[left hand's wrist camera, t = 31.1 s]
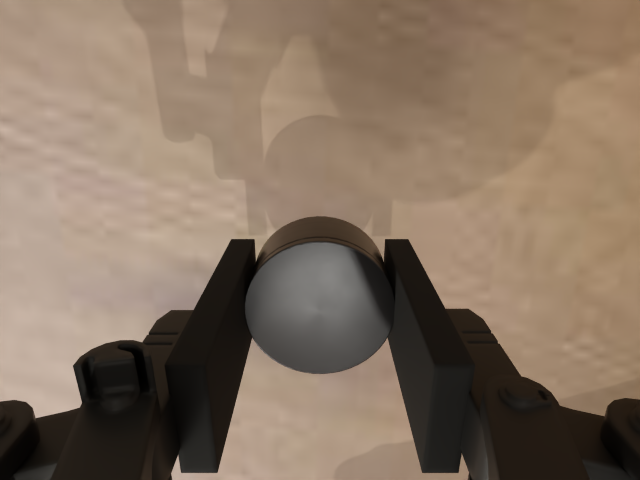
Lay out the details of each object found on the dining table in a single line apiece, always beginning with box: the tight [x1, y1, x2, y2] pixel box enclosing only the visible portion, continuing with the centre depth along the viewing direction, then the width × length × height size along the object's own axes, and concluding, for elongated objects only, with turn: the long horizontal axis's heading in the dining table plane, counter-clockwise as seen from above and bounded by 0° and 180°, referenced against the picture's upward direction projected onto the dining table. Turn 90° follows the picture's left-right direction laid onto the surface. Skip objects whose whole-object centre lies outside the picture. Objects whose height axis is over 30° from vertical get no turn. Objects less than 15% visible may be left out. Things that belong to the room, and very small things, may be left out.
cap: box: [245, 217, 395, 374], centre depth 13 cm, size 4×4×2 cm
